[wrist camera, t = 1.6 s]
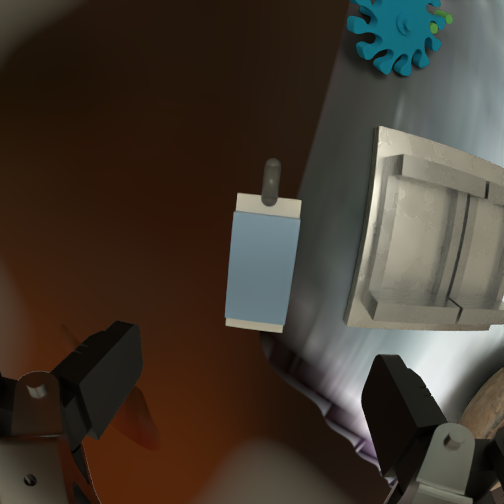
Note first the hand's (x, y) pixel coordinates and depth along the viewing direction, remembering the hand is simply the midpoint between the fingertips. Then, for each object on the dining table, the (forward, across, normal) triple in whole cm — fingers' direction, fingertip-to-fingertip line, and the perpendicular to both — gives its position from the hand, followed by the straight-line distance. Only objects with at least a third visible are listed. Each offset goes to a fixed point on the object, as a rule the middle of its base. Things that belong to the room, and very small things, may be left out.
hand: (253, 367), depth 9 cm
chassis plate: (+14, -16, -3) cm, 22 cm away
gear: (+15, -9, -20) cm, 27 cm away
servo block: (+15, 0, -1) cm, 15 cm away
